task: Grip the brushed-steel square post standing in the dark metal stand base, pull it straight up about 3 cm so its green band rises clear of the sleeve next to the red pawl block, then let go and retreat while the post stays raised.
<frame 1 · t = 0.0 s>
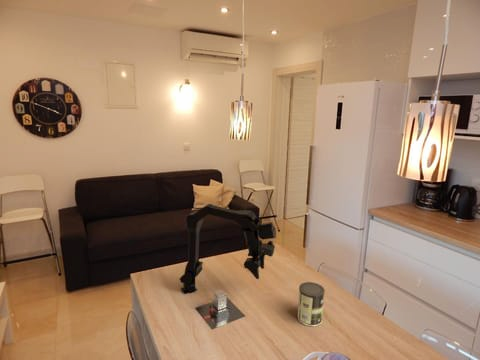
hand: (260, 273, 136), 15 cm above the table, tool pointing down, fingers open, 9 cm apart
post: (219, 302, 132), point 5 cm above the table, slide at 0.0 cm, touching stand base
coffee can: (309, 319, 131), on the table
stand base: (219, 314, 133), on the table
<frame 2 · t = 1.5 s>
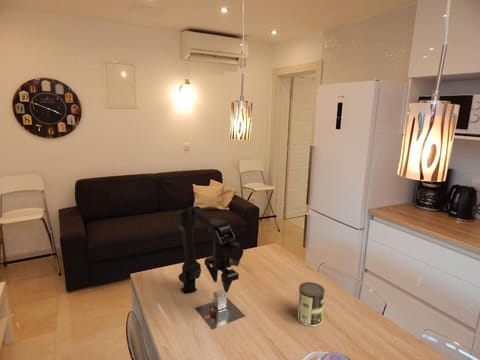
hand: (220, 286, 131), 13 cm above the table, tool pointing down, fingers open, 9 cm apart
nothing on the table moved.
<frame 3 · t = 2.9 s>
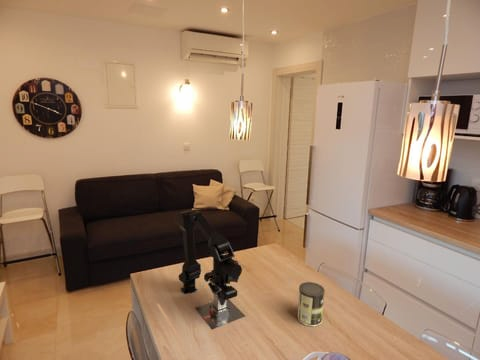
hand: (219, 302, 132), 6 cm above the table, tool pointing down, fingers closed on post, 4 cm apart
post: (219, 302, 132), point 5 cm above the table, slide at 0.0 cm, touching gripper, stand base
everything else where it was.
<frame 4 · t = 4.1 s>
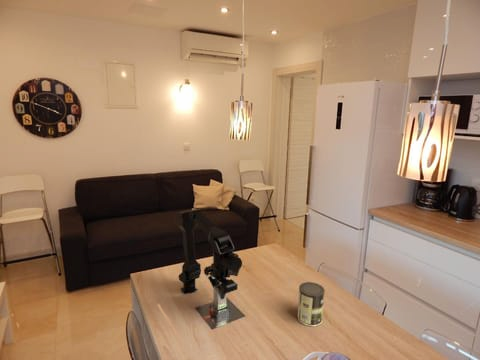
hand: (219, 296, 131), 8 cm above the table, tool pointing down, fingers closed on post, 4 cm apart
post: (219, 296, 131), point 8 cm above the table, slide at 2.9 cm, touching gripper
everything else where it was.
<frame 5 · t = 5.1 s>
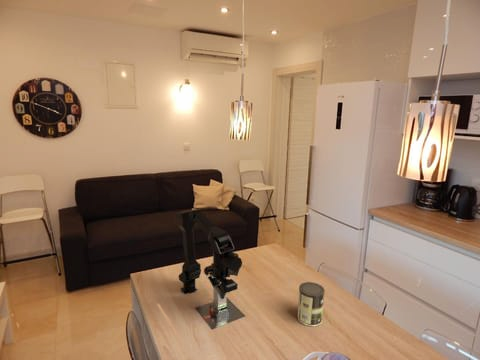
hand: (219, 296, 131), 9 cm above the table, tool pointing down, fingers open, 4 cm apart
post: (219, 296, 131), point 9 cm above the table, slide at 3.1 cm
everything else where it was.
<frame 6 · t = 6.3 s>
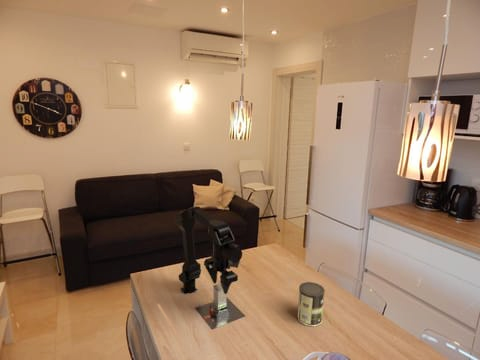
hand: (220, 288, 130), 12 cm above the table, tool pointing down, fingers open, 9 cm apart
nothing on the table moved.
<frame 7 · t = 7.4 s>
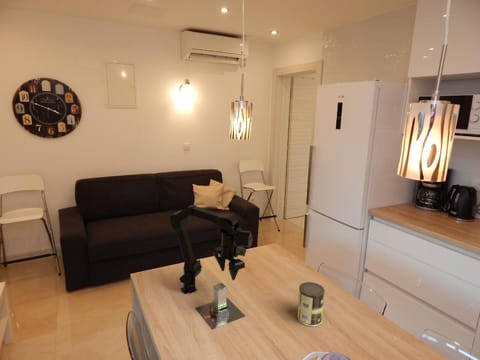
hand: (228, 275, 140), 13 cm above the table, tool pointing down, fingers open, 9 cm apart
nothing on the table moved.
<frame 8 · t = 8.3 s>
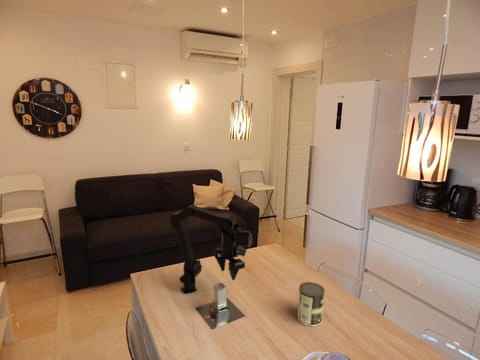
hand: (228, 275, 140), 13 cm above the table, tool pointing down, fingers open, 9 cm apart
nothing on the table moved.
at the end: post slide at 3.1 cm; the gripper is holding nothing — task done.
